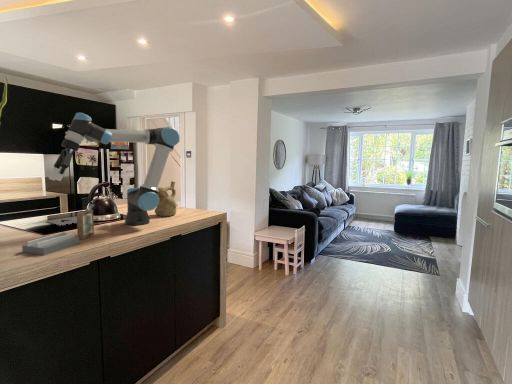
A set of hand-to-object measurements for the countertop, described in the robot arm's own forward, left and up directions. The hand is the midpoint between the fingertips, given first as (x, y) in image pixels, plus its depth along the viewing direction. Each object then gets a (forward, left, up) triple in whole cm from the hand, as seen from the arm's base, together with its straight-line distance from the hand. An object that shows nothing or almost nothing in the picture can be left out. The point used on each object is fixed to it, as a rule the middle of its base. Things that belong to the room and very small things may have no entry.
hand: (54, 180), depth 144 cm
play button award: (-36, -31, -31) cm, 56 cm away
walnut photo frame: (-9, +9, -31) cm, 33 cm away
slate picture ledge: (+10, +9, -30) cm, 34 cm away
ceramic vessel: (-78, +14, -31) cm, 85 cm away
